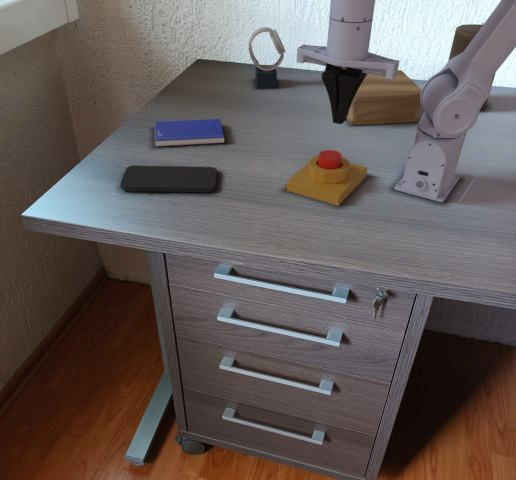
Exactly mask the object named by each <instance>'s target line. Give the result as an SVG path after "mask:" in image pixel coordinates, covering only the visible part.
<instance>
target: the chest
mask: <svg viewBox="0 0 516 480" xmlns="http://www.w3.org/2000/svg"><path fill="white" fill-rule="evenodd" d="M421 109H422V105H421V101H420V98H412V99H393V100H373V101H356V100H355V99H353V101H352V104H351V106H350V109H349V112H348V115H347V119H346V120H347V121H348V122H349V124H350V125H351V126H362V125H363V126H365V125H380V124H381V125H382V124H397V123H398V124H399V123H400V124H401V123H416V122H418V123H419V118H420V113H421Z"/></svg>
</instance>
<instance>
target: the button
mask: <svg viewBox="0 0 516 480" xmlns="http://www.w3.org/2000/svg"><path fill="white" fill-rule="evenodd" d="M318 155H319V158H318V166H319V167H320V168H324V169H338V168H340V167H341V159H342V157H343V155H342V153H341V152H340V151H337V150H334V149H325V150H322V151H320V152H319V153H318Z"/></svg>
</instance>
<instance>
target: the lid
mask: <svg viewBox="0 0 516 480" xmlns="http://www.w3.org/2000/svg"><path fill="white" fill-rule="evenodd" d="M421 91H422V88H421V87H420V86H418V84H417V83H415V82H414V80H413V79H411V78H410V77H409V76H408V75H407V74H406V73H405V72H404V71H403V70H400V69H398V72H397V76H396V77H395V78H394V79H392V80H390V79H386V78H385V77H383V76H378V75H372V74H367V75H366V77H365V79H364V80H363V82H362V84H361V85H360V87H359V89H358V91H357V93H356V95H355V97H354V99H355V100H356V101H373V100H393V99H412V98H420V95H421Z"/></svg>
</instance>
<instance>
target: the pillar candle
mask: <svg viewBox="0 0 516 480" xmlns="http://www.w3.org/2000/svg"><path fill="white" fill-rule="evenodd" d="M483 24H484V22H482V23H481V24H475V23H474V24H472V23H471V24H461V25H458V26H456V28H455V31H454V36H453V39H452V43H451V48H450V51H449V52H450V53H449V55H448V60H447V62H448V61H449V60H450V59H452V58H454V57H455V56H457V55H459V54H461V53H462V52H464V50H465V49H466V48H467V46H468V45H469V44H470V42H471V41H472V39H473V38H474V37H475V35H476V34H477V33H478V31H479V30H480V29H481V27H482V26H483ZM495 76H496V73H495V74H494V76H493V79H492V85H491V88H492V87H493V84H494V80H495ZM488 101H489V97H488V98H487V100H486V101H485V102H484V103H483V105H482V107H481V109H480V111H481V110H484V109H485V108H486V107H487V104H488Z"/></svg>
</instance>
